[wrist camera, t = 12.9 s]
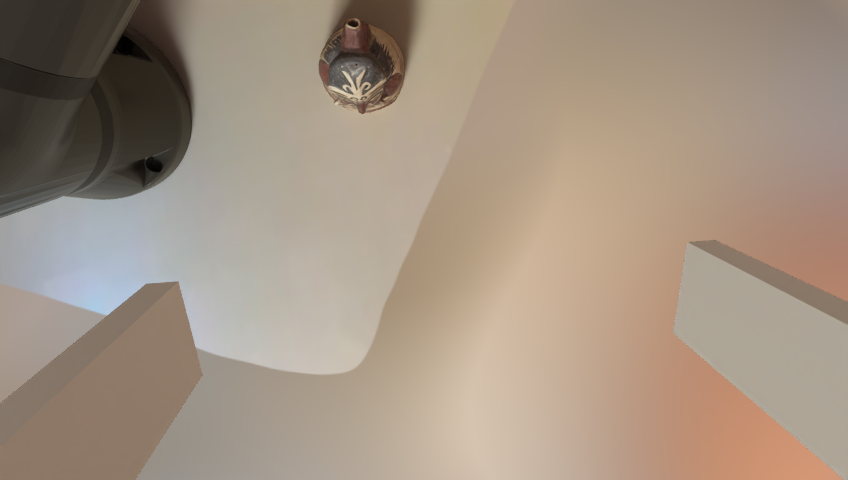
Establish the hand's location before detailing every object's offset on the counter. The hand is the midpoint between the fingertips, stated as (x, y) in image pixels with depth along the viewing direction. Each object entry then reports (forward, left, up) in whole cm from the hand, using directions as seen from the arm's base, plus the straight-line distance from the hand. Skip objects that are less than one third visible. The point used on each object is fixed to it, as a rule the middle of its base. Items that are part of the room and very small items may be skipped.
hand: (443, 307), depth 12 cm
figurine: (-3, +7, -32) cm, 33 cm away
